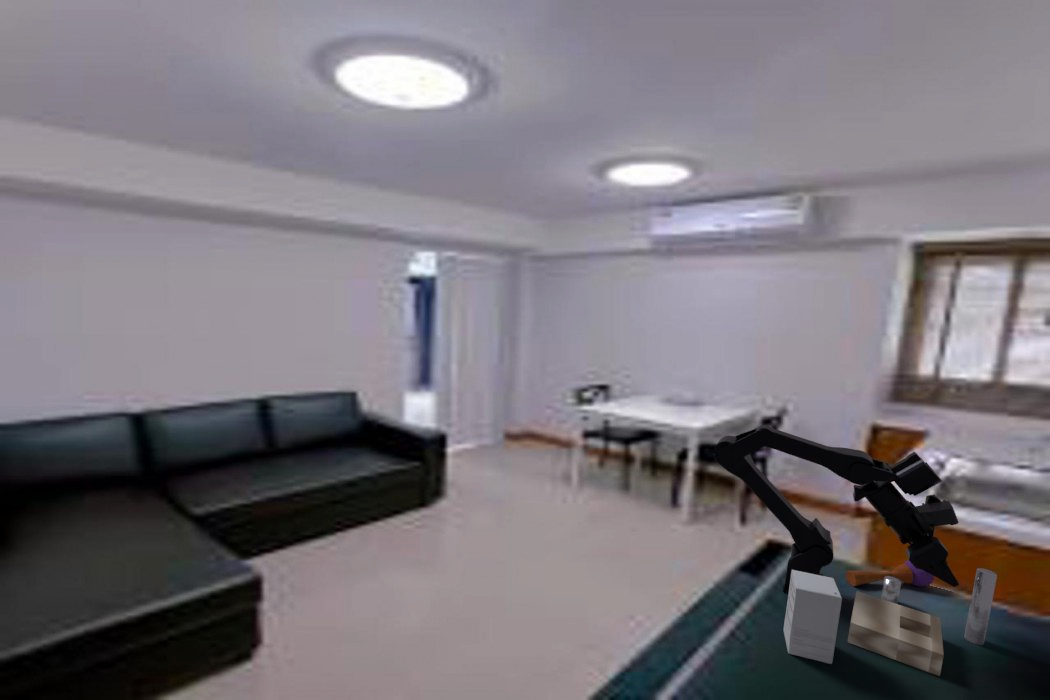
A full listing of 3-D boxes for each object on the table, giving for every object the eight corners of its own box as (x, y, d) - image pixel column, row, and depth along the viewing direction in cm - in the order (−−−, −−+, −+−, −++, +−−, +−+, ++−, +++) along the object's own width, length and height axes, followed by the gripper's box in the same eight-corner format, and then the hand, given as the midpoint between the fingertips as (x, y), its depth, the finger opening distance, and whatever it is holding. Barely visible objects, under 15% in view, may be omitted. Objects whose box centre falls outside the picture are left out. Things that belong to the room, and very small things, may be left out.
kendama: (840, 560, 129) (918, 554, 132) (842, 587, 129) (919, 580, 132) (859, 569, 124) (940, 562, 126) (861, 597, 123) (942, 589, 126)
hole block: (847, 642, 105) (850, 622, 104) (853, 609, 116) (856, 591, 116) (939, 676, 97) (943, 655, 97) (936, 637, 109) (940, 618, 108)
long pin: (964, 640, 108) (977, 572, 106) (963, 633, 111) (976, 566, 109) (984, 647, 107) (998, 578, 105) (983, 639, 109) (996, 571, 107)
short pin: (880, 601, 120) (884, 579, 119) (881, 596, 123) (884, 574, 122) (897, 607, 118) (901, 585, 118) (897, 601, 121) (901, 579, 120)
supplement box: (825, 641, 105) (835, 577, 103) (832, 666, 98) (843, 598, 96) (782, 630, 107) (791, 568, 105) (786, 653, 100) (796, 587, 99)
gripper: (942, 501, 101) (1008, 577, 98) (922, 473, 118) (979, 536, 115) (884, 531, 106) (946, 605, 102) (873, 500, 122) (926, 562, 119)
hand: (950, 574), depth 109 cm, fingers open, 9 cm apart
